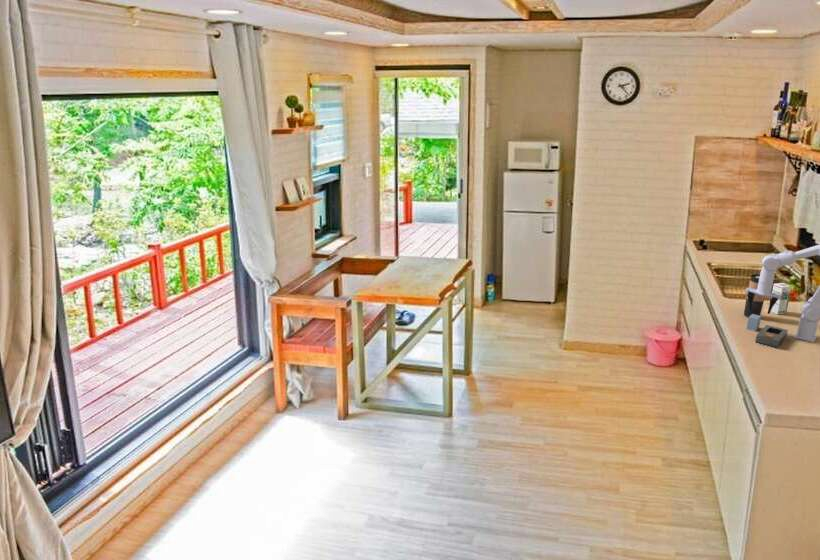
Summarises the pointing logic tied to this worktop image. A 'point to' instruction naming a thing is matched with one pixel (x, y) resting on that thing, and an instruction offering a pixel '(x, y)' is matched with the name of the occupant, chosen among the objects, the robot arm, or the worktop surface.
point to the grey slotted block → (771, 336)
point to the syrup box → (781, 304)
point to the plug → (753, 322)
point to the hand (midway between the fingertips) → (759, 311)
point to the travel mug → (757, 299)
